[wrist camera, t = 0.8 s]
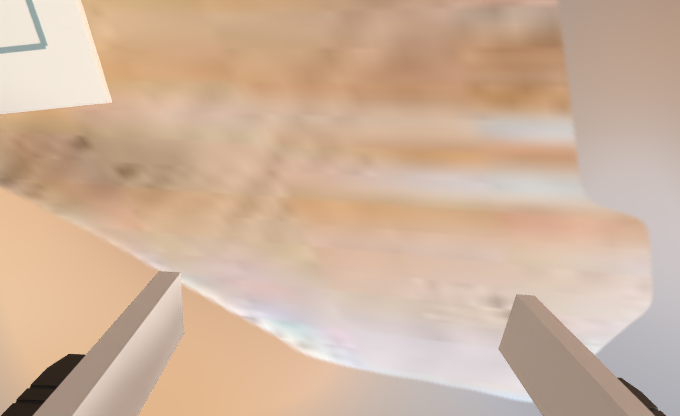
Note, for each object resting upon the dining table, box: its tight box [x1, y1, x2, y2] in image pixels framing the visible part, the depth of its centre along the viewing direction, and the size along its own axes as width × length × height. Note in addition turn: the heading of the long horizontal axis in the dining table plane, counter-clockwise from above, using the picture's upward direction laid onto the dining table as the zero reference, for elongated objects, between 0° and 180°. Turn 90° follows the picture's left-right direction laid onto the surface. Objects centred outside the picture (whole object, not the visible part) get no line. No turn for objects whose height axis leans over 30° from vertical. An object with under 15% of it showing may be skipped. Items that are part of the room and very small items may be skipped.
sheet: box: [0, 0, 112, 114], centre depth 31 cm, size 16×12×1 cm
